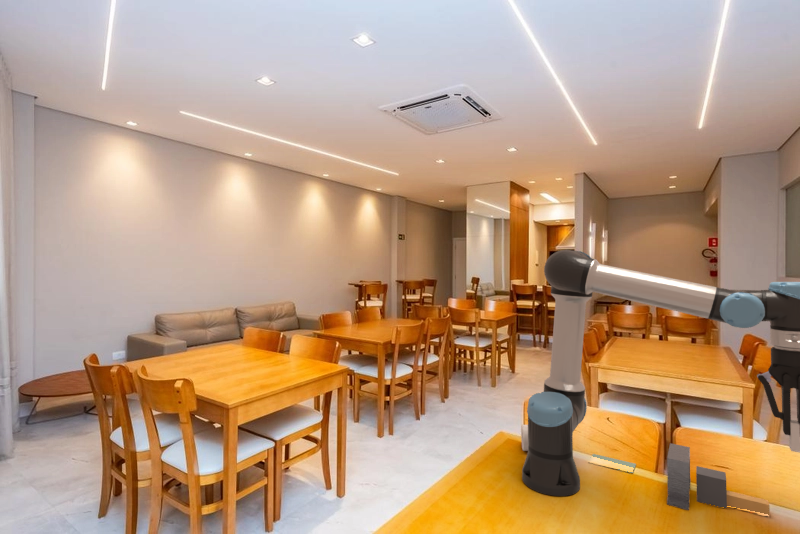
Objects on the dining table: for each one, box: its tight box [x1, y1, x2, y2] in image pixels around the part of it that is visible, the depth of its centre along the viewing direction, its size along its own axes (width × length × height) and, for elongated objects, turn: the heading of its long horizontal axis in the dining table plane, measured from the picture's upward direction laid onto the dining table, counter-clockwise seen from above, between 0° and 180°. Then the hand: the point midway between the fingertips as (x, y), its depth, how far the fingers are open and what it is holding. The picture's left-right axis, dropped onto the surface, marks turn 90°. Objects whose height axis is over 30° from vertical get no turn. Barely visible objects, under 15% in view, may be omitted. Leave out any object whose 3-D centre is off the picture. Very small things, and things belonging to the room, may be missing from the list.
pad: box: [591, 453, 637, 474], centre depth 126 cm, size 12×7×1 cm, turn 54°
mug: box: [520, 424, 528, 452], centre depth 138 cm, size 12×10×8 cm
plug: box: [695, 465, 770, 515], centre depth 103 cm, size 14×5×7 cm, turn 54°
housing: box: [666, 442, 692, 511], centre depth 110 cm, size 4×17×10 cm, turn 144°
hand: (794, 449), depth 97 cm, fingers closed
